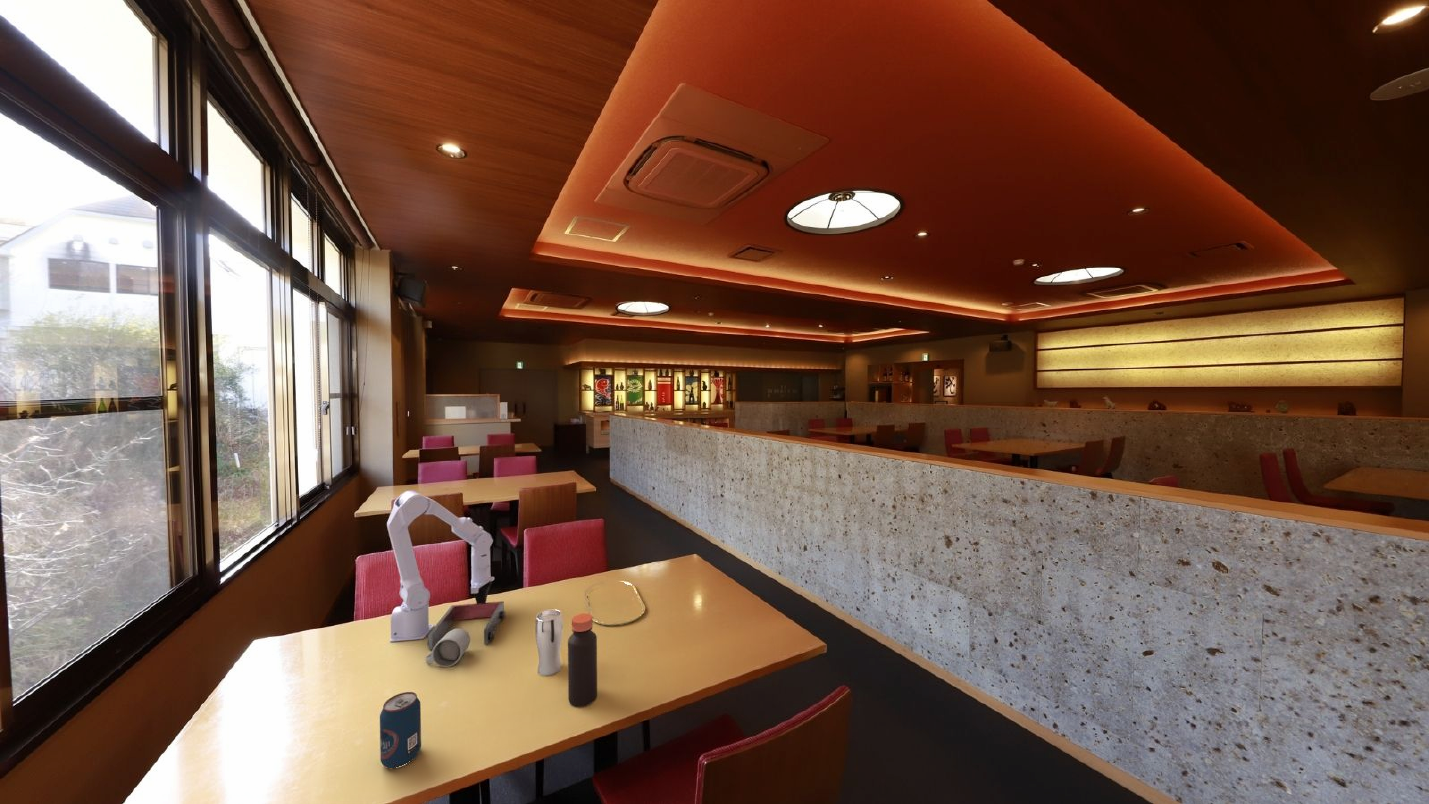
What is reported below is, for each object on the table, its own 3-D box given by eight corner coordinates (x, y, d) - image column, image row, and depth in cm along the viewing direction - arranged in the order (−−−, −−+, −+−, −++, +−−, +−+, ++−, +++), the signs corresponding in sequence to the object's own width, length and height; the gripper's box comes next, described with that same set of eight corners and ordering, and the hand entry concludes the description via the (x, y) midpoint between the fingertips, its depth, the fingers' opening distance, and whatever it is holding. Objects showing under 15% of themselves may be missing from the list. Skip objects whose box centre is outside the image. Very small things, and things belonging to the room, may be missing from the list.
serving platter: (592, 633, 145) (592, 628, 145) (581, 588, 177) (581, 584, 177) (650, 622, 152) (650, 617, 152) (630, 581, 184) (630, 577, 184)
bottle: (573, 689, 117) (573, 611, 116) (600, 689, 117) (599, 611, 116) (564, 707, 110) (563, 624, 110) (592, 708, 110) (591, 625, 109)
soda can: (372, 766, 93) (371, 707, 93) (406, 741, 99) (405, 686, 99) (396, 776, 90) (395, 716, 90) (429, 750, 97) (428, 694, 97)
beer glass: (557, 677, 122) (557, 621, 121) (531, 677, 122) (530, 621, 121) (566, 661, 129) (566, 608, 128) (541, 661, 129) (541, 608, 128)
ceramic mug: (472, 649, 135) (471, 623, 135) (461, 666, 127) (461, 638, 127) (432, 653, 133) (431, 627, 133) (419, 670, 125) (418, 642, 125)
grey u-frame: (425, 650, 134) (425, 634, 134) (449, 619, 152) (449, 605, 152) (490, 643, 137) (490, 628, 137) (506, 614, 155) (506, 601, 155)
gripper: (487, 573, 151) (487, 614, 151) (499, 557, 165) (499, 595, 165) (463, 575, 149) (464, 616, 149) (477, 559, 163) (478, 597, 164)
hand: (481, 605), depth 157 cm, fingers closed
